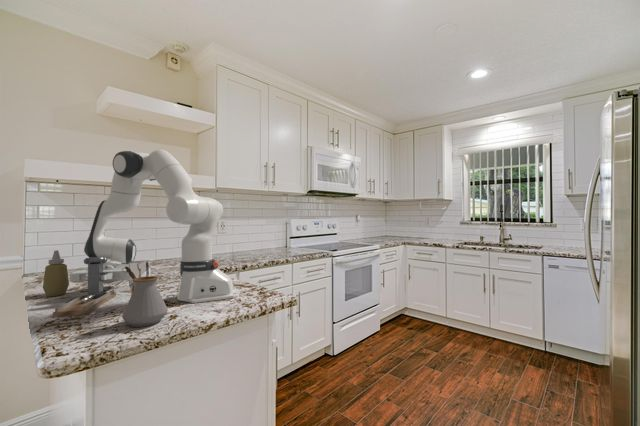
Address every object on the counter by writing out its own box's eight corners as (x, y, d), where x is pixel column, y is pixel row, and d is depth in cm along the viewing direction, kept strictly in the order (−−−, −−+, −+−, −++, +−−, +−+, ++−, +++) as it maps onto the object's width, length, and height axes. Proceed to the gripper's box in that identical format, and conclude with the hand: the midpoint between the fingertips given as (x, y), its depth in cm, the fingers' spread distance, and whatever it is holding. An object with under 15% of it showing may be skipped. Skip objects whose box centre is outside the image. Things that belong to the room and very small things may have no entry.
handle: (109, 293, 114) (109, 256, 115) (95, 302, 103) (95, 260, 103) (87, 295, 112) (87, 257, 113) (70, 304, 101) (70, 261, 101)
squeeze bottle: (42, 294, 121) (42, 250, 122) (68, 291, 127) (68, 249, 127) (42, 298, 115) (42, 252, 116) (69, 294, 121) (69, 250, 121)
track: (115, 295, 118) (115, 289, 118) (86, 314, 95) (86, 306, 95) (89, 297, 116) (89, 291, 116) (52, 317, 93) (52, 309, 93)
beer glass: (140, 306, 103) (140, 263, 103) (123, 305, 104) (123, 262, 105) (155, 301, 110) (155, 260, 110) (139, 300, 111) (139, 260, 112)
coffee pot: (174, 320, 88) (174, 270, 88) (131, 332, 79) (131, 276, 79) (144, 308, 101) (144, 263, 102) (104, 317, 92) (104, 268, 93)
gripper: (79, 265, 121) (60, 271, 107) (137, 263, 126) (125, 268, 113) (79, 281, 121) (60, 289, 107) (137, 278, 126) (125, 285, 113)
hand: (94, 278), depth 110 cm, fingers closed on handle, 3 cm apart
